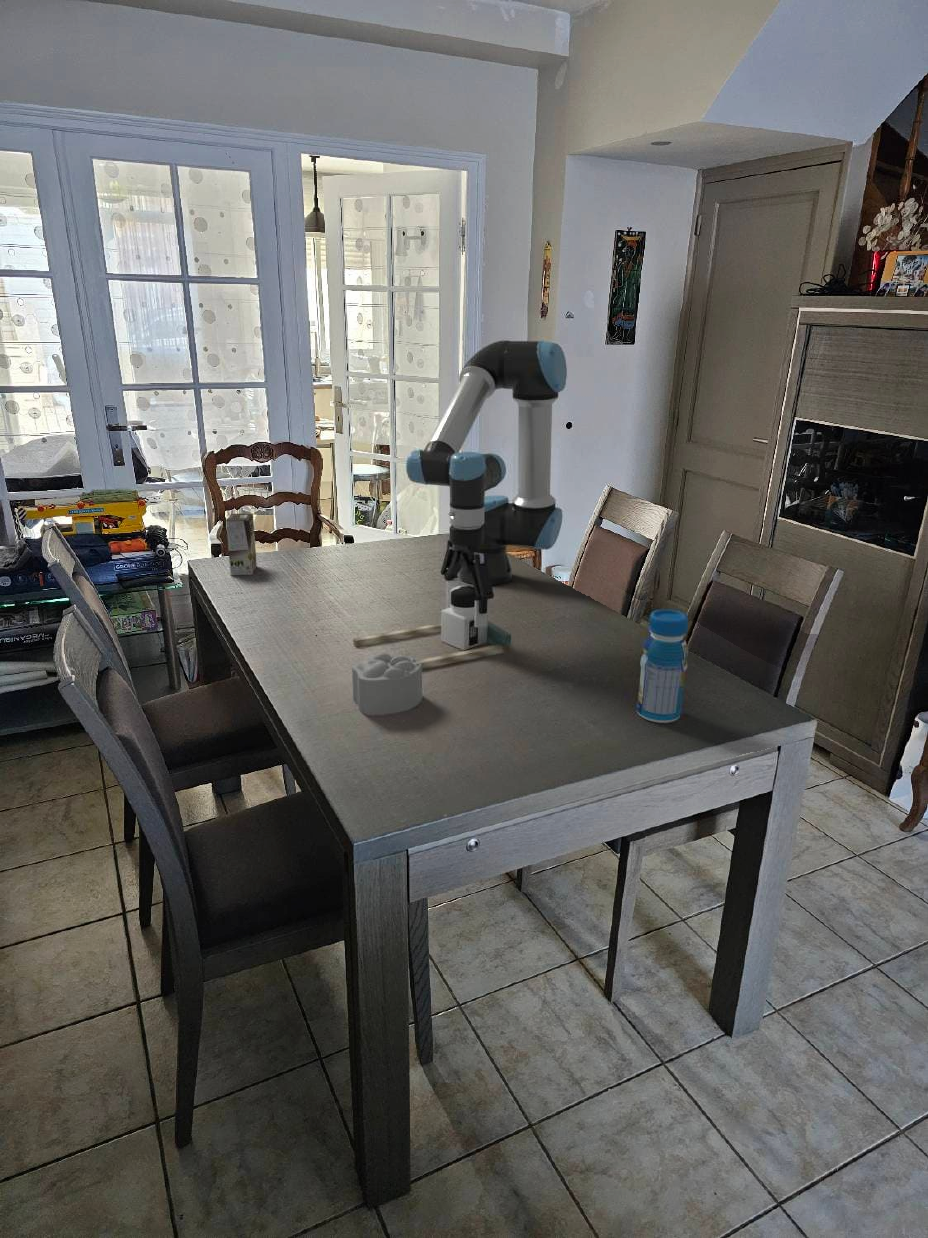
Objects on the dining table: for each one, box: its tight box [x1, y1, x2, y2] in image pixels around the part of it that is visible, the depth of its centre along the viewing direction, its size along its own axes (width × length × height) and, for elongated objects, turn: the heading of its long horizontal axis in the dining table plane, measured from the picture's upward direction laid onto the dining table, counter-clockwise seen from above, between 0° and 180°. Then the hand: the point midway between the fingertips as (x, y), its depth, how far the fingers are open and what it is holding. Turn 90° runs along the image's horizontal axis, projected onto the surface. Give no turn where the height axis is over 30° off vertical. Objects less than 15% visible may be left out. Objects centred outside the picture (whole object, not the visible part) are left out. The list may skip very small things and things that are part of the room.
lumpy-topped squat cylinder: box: [351, 652, 423, 717], centre depth 153 cm, size 10×13×9 cm
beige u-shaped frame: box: [352, 619, 512, 670], centre depth 179 cm, size 30×19×4 cm, turn 119°
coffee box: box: [225, 512, 258, 576], centre depth 228 cm, size 9×6×16 cm
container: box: [440, 585, 489, 651], centre depth 181 cm, size 8×8×13 cm
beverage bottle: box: [635, 608, 689, 724], centre depth 147 cm, size 8×8×20 cm
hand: (465, 616), depth 181 cm, fingers open, 13 cm apart
